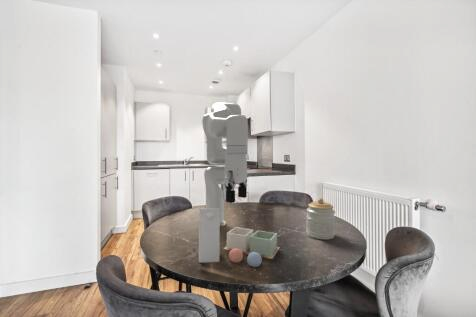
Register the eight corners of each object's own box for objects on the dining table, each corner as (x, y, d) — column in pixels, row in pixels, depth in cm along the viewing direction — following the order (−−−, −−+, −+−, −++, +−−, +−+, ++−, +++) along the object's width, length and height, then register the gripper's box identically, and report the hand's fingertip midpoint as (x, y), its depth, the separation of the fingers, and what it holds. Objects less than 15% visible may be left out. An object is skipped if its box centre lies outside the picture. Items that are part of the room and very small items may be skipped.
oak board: (223, 251, 89) (223, 248, 89) (235, 242, 99) (235, 239, 99) (272, 262, 81) (272, 258, 80) (280, 250, 90) (280, 247, 90)
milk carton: (200, 256, 85) (200, 206, 84) (219, 256, 85) (219, 205, 85) (198, 266, 78) (198, 210, 77) (219, 265, 78) (219, 210, 78)
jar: (301, 235, 108) (301, 198, 107) (313, 228, 117) (313, 194, 117) (328, 242, 99) (329, 202, 99) (339, 235, 108) (339, 198, 108)
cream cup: (226, 247, 90) (226, 232, 90) (235, 240, 97) (235, 226, 97) (245, 251, 86) (245, 236, 86) (253, 243, 94) (253, 229, 94)
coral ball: (226, 264, 79) (226, 250, 79) (232, 258, 83) (232, 245, 83) (239, 267, 77) (239, 252, 77) (245, 261, 81) (245, 247, 81)
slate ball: (244, 268, 76) (244, 254, 76) (250, 262, 80) (250, 248, 80) (258, 272, 74) (258, 256, 74) (263, 265, 78) (263, 251, 78)
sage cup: (250, 252, 86) (250, 236, 86) (257, 244, 93) (257, 230, 93) (270, 256, 82) (271, 240, 82) (276, 248, 90) (277, 233, 89)
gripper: (237, 151, 89) (237, 195, 89) (215, 150, 73) (214, 203, 73) (255, 151, 86) (255, 196, 86) (236, 150, 70) (235, 205, 70)
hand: (236, 199), depth 80 cm, fingers open, 9 cm apart
